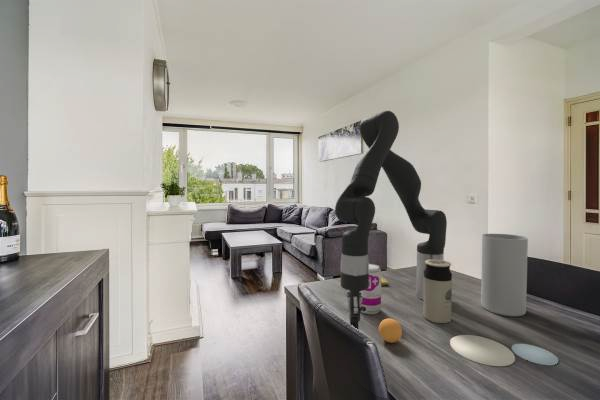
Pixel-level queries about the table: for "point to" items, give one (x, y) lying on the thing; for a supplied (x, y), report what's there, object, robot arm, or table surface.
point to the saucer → (383, 281)
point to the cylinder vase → (504, 274)
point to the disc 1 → (482, 350)
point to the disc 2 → (535, 354)
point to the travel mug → (437, 291)
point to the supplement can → (372, 292)
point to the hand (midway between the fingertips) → (354, 332)
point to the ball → (390, 330)
